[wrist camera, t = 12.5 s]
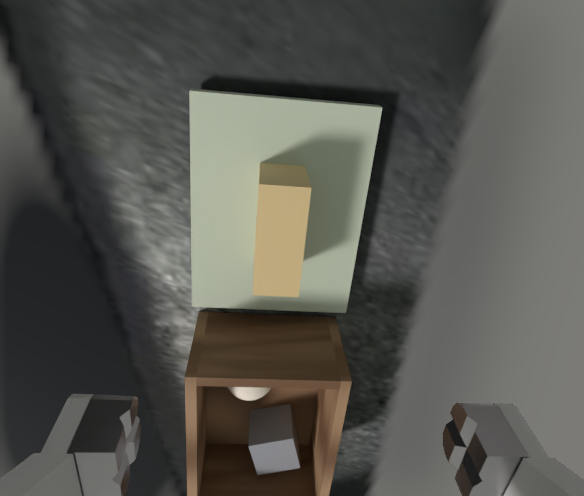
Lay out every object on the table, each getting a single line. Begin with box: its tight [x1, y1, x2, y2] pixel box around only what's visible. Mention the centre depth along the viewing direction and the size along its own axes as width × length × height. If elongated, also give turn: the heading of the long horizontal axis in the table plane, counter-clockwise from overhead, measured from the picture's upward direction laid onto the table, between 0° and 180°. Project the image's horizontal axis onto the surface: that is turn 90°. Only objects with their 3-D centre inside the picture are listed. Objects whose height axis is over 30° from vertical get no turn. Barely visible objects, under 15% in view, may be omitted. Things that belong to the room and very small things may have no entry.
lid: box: [190, 89, 382, 313], centre depth 24 cm, size 13×10×5 cm
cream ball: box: [228, 387, 271, 401], centre depth 28 cm, size 3×3×3 cm
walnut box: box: [185, 311, 352, 496], centre depth 29 cm, size 12×9×6 cm
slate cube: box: [248, 404, 300, 475], centre depth 31 cm, size 3×3×3 cm
